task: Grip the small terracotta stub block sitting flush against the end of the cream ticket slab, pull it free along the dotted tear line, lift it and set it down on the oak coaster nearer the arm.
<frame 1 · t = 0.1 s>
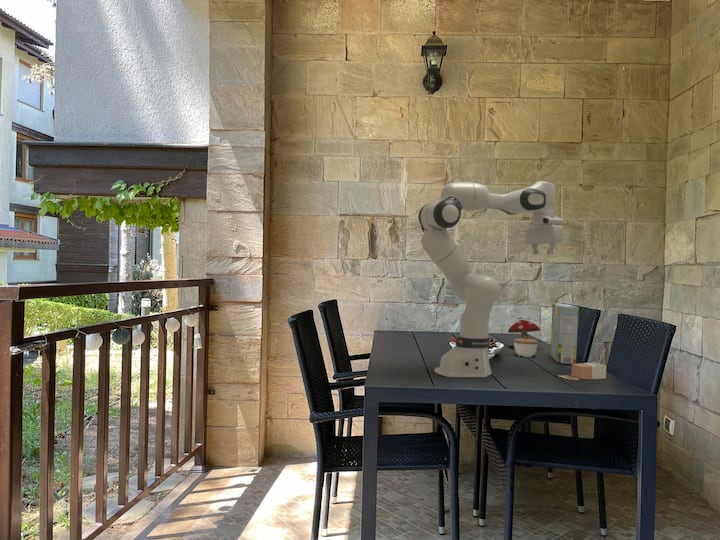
hand: (542, 254, 213), 48 cm above the table, tool pointing down, fingers open, 8 cm apart
decorative mushroom: (523, 348, 270), on the table
lidded jar: (525, 356, 247), on the table
snack box: (563, 360, 238), on the table
stub: (580, 378, 201), on the table
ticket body: (593, 377, 202), on the table
stub mat: (568, 378, 199), on the table
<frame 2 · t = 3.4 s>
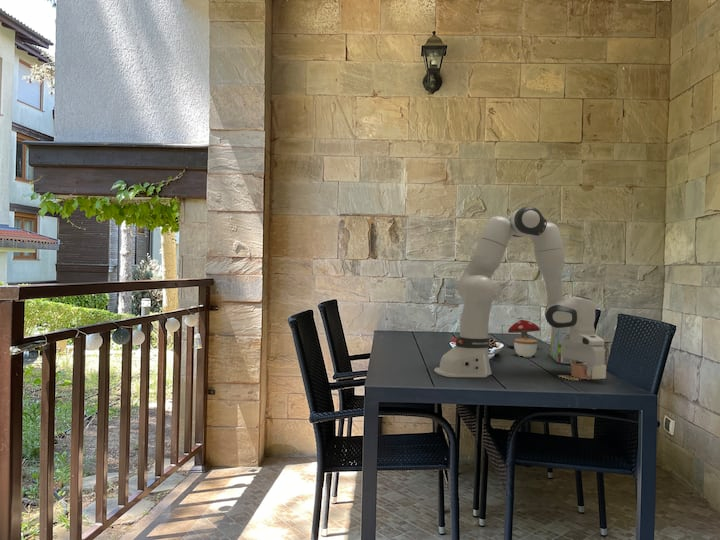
hand: (581, 373, 201), 2 cm above the table, tool pointing down, fingers closed on stub, 6 cm apart
stub: (580, 377, 201), on the table, touching gripper
everything else where it was.
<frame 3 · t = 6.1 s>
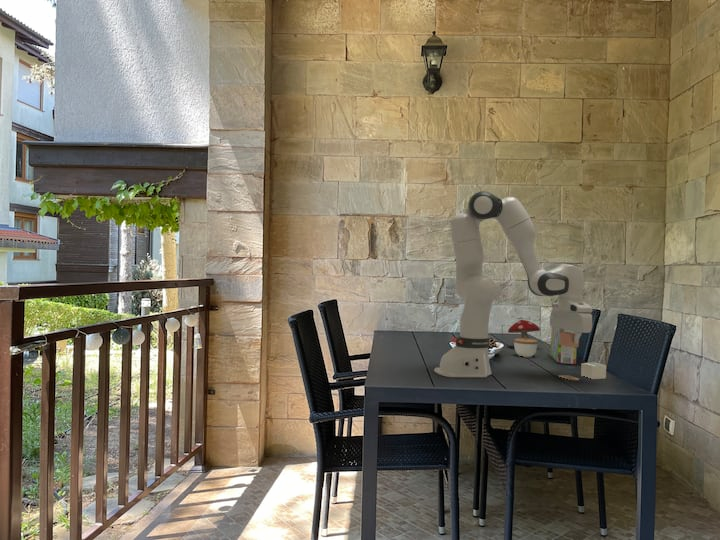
hand: (568, 341, 199), 14 cm above the table, tool pointing down, fingers closed on stub, 6 cm apart
stub: (568, 345, 199), point 12 cm above the table, touching gripper
everything else where it was.
when the fingers open (3 cm above the table, at t = 8.8 s): stub stays where it is, resting on stub mat.
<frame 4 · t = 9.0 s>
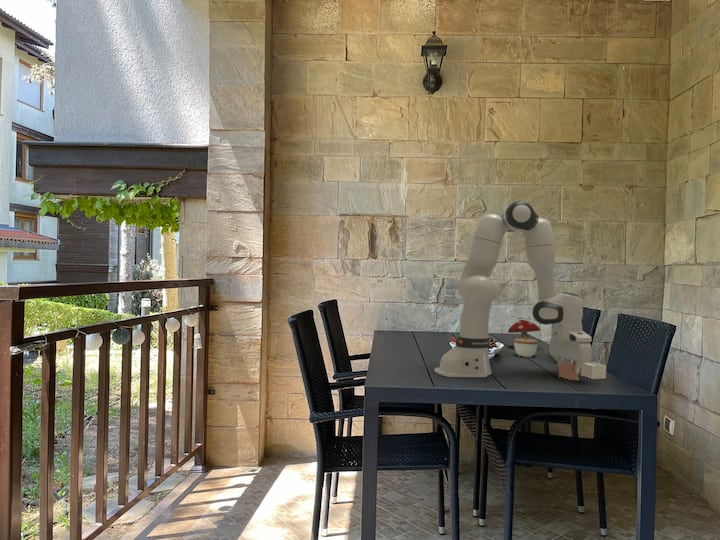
hand: (568, 370, 199), 3 cm above the table, tool pointing down, fingers open, 8 cm apart
stub: (568, 377, 199), resting on stub mat
everything else where it was.
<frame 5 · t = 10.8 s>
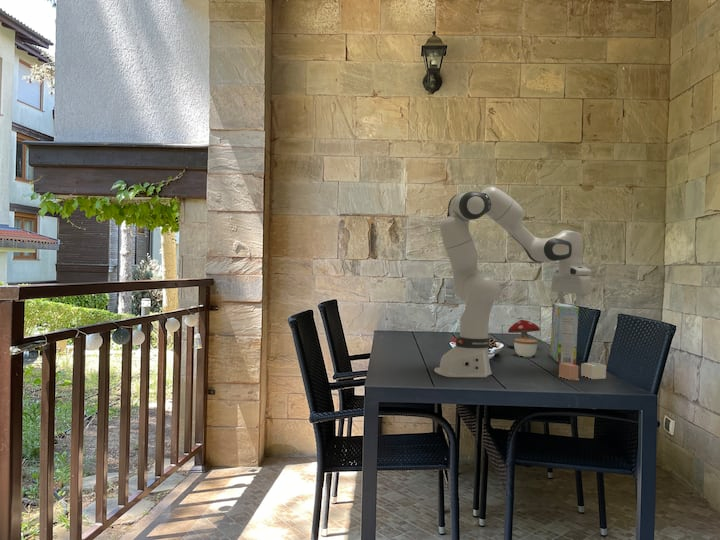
hand: (569, 304, 210), 28 cm above the table, tool pointing down, fingers open, 8 cm apart
nothing on the table moved.
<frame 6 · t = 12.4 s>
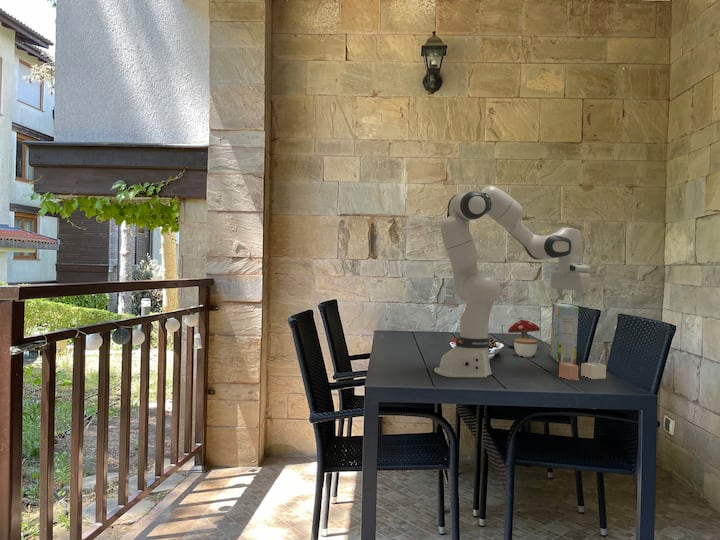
hand: (568, 300, 211), 29 cm above the table, tool pointing down, fingers open, 8 cm apart
nothing on the table moved.
at the end: stub inside the target area on the stub mat (0.0 cm from its centre), point 0.4 cm above the stub mat's base; stub moved 5.8 cm from its start; the gripper is holding nothing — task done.
